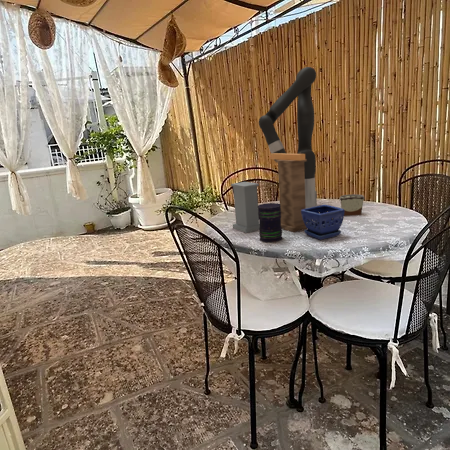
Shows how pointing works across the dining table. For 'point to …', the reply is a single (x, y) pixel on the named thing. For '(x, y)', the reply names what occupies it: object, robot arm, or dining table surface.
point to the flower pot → (323, 221)
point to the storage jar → (270, 222)
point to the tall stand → (292, 193)
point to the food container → (352, 204)
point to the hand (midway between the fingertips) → (289, 177)
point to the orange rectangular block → (287, 156)
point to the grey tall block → (246, 206)
